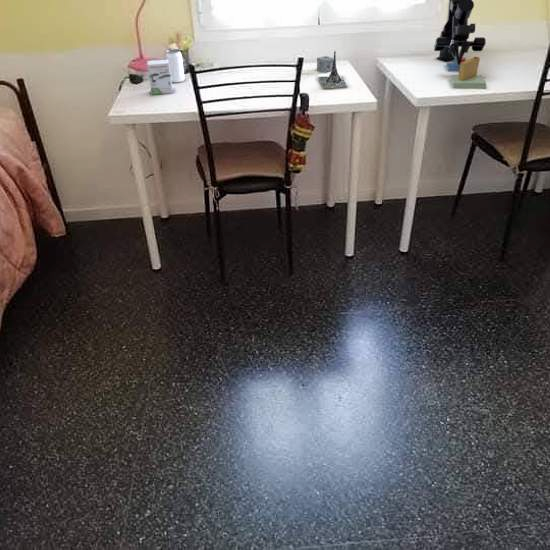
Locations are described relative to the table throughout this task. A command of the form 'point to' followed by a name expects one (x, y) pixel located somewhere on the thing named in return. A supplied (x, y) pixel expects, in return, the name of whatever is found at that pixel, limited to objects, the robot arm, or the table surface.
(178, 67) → the can
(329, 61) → the dice cube
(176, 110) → the table surface
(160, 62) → the ink box
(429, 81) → the table surface
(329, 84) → the eiffel tower figurine
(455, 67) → the button box
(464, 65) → the brass bar
